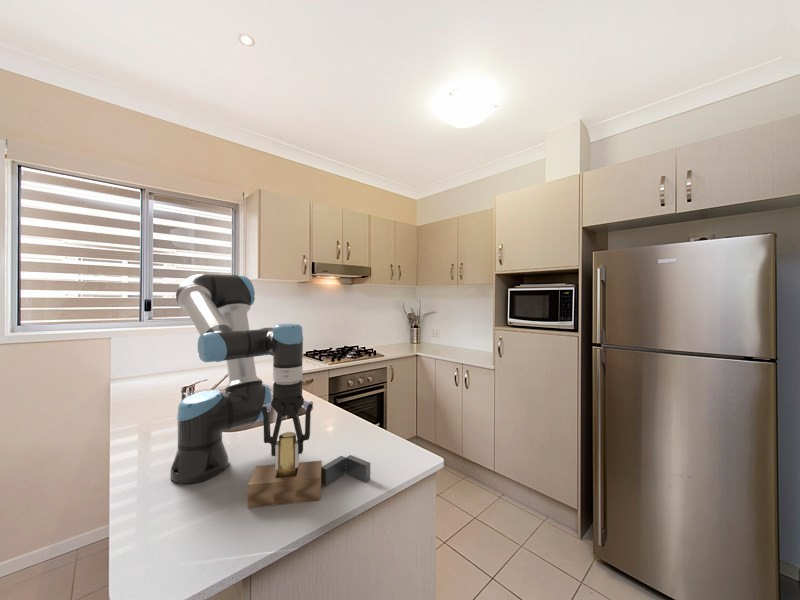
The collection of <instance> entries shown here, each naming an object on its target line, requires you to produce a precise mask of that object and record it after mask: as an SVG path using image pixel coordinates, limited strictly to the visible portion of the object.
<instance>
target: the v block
mask: <svg viewBox="0 0 800 600" xmlns="http://www.w3.org/2000/svg"><path fill="white" fill-rule="evenodd" d="M344 475H348V476H350V477H352V478H355V479H357V480H359V481H361V482H363V483H366V484H367V482H369V481H371V462H370V461H367V460H364V459H362V458H359V457H357V456H354V455H351V454H349V455H348V456H343V455H340V456H338V457H336V458H334V459H332V460H331V461H329V462H328V463H326V464H324V465H322V472H321V486H324V487H328V486H330V485H331V484H332V483H334V482H335V481H337V480H339V479H340V478H341V477H343V476H344Z"/></svg>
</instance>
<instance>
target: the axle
mask: <svg viewBox="0 0 800 600" xmlns="http://www.w3.org/2000/svg"><path fill="white" fill-rule="evenodd" d="M296 440H297V435H296V432H291V431H289V432H288V431H287V432H283V433H281V434H279V435H278V441H279V478H284V477H295V476H296V468H295V443H296Z"/></svg>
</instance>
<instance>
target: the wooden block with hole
mask: <svg viewBox="0 0 800 600" xmlns="http://www.w3.org/2000/svg"><path fill="white" fill-rule="evenodd" d="M322 466H323V460H313V461H311V460H310V461H302V462H301V461H299V465H298V468H296V476H295V477H284V478H279V468H278V469H276V470H275V464H265V465H256V466H255V468H254V470H253V473H252V474H251V476H250V479H249V480H248V483H247V505H246V506H247V509H251V508H259V507H269V506H271V507H272V506H278V505H279V506H280V505H288V504H297V503H298V504H299V503H307V502H315V501H321V494H322V484H321V472H322Z"/></svg>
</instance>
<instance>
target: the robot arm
mask: <svg viewBox="0 0 800 600" xmlns="http://www.w3.org/2000/svg"><path fill="white" fill-rule="evenodd" d="M255 294H256V292H255V288H254V285H253V283H252V280H250V279H249V278H248V277H247V276H243V275H238V274H209V273H199V274H195V275H191V276H189V277H188V278H185V280H183V281H182V282H181V283H180V284H179V285H178V287H177V289H176V292H175V299H176V302H177V304H178V306H179V308H181V310H183V311H184V312H186V313H187V314H188V316H189V318H190V319H191V322H192V323H193V325H194V327H195V328H196V330H197V333H199V337H198V340H197V352H198V357H199V359H200V360H201V361H202V362H203V363H212V362H216V363H219V362H222V361H223V362H224V361H226V368H227V374H228V375H227V376H228V383H227V384H226V386H225V387H224V393H223V391H221V390H220V389H211V390H203V391H199V392H196V393H194V394H193V393H192V394H191V395H188V396H186V397H184V398H183V399H182V400H180V403H179V404H178V406H177V407H178V408H177V415H176V416H177V417H176V419H177V451H176V454H175V457H174V460H173V463H172V464H171V468H170V480H171V479H172V480H173V481H174V483H175V482H177V483H176V484H179V483H181V485H189V484H190V485H191V484H196V483H201V482H204V481H208V480H211V479H213V478H215V477H217V476H219V475H220V474H222V473H223V472H224V471H226V469H227V468H228V466H229V455H228V452H227V450H226V448H225V445H224V443H223V432H225V431H229V430H233V429H237V428H241V427H244V426H248V425H254V424H255V423H258V422H261V421H263V443H264V444H270V449H271V450H270V455H271V457H275V459H274V462H275V463H274V465H275V470H276V469H278V468H279V435H280V431H281V429H280V428H281V426H282V421H283V417H287V416H288V417H291V419H292V422H293V426H294V427H293V428H294V431H295V434H296V443H295V468H298V465H299V462H300V455H301V454H303V451H304V442H305V441H308V440H309V439H310V435H311V417H312V416H311V415H312V413H311V412H312V409H313V407H314V402H313V401H307V400H305V398H304V396H303V381H302V380H303V356H304V355H303V350H304V335H303V327H302V325H300V324H299V323H279V324H276V325H275V326H274V327H263V328H260V329H250V324H249V319H248V318H249V317H248V312H249V311H250V310H251V307H252V305H253V304H254V302H255V296H256V295H255ZM261 356H272V357H273V359H272V360H273V362H272V363H273V364H272V365H273V366H272V371H273V373H272V378H273V379H272V380H273V381H274V382H273V384H272V392H271V389H270V387H269V385H266V384H263V380H262V379H261V378H260V377H258V376H257V370H256V364H255V358H256V357H261ZM302 407H303V409H304V411H305V414H304V415H305V417H304V420H305V421H304V423H305V424H304V433H303V429H302V424H301V420H300V416H299V411H300V409H301V408H302ZM272 408H273V410H274V411H275V413H277V416H276V419H275V425H274V429H273V433H272V436H271V411H272ZM172 480H171V481H172ZM173 481H172V482H173Z"/></svg>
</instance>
